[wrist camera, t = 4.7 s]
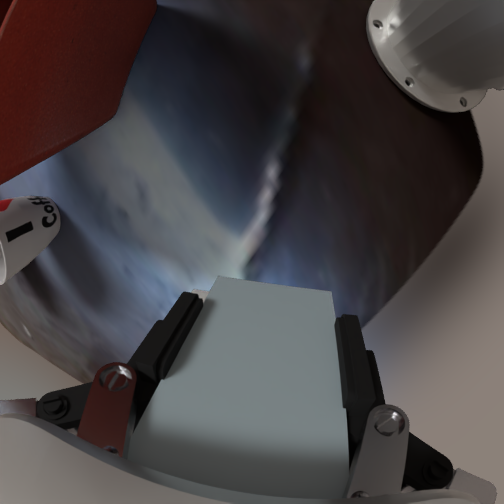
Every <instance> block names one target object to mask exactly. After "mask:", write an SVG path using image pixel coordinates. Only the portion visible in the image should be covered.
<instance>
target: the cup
mask: <svg viewBox="0 0 504 504" xmlns="http://www.w3.org/2000/svg"><path fill="white" fill-rule="evenodd" d="M59 230H60V214H59V211H58V208H57V206H56V204H55V203H54V202H53V201H52V200H51V199H50V198H48V197H40V196H24V197H16V198H9V199H4V200H1V201H0V285H2V284H3V283H5V282H6V281H7V280H8V279H10V278H11V277H12V276H13V275H15V274H16V273H17V272H19V271H20V270H21V269H23V268H24V267H25V266H27V265H28V264H29V263H30V262H31V261H32V260H33V259H34V258H35V257H36V256H37V255H38V254H40V253H41V252H42V251H43V250H44V249H45V248H46V247H47V246H48V245H49V243H50V242H51V241H52V240H53V239H54V237H55V236H56V235H57V234H58V232H59Z"/></svg>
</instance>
